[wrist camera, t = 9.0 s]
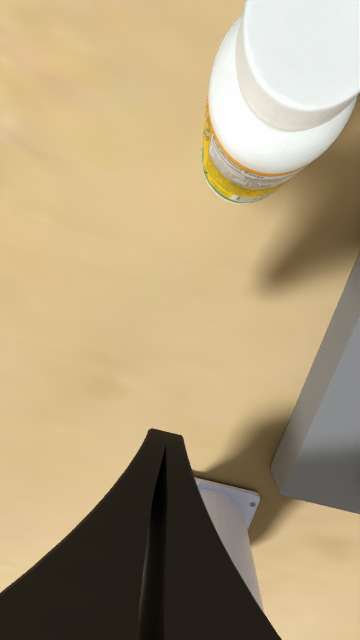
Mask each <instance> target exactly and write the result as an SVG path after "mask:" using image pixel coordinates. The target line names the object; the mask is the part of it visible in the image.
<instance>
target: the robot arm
mask: <svg viewBox="0 0 360 640" xmlns="http://www.w3.org/2000/svg"><path fill="white" fill-rule="evenodd" d="M251 502H252V503H251ZM259 502H260V496H259V494H258V493H257V492H254V491H250V490H245V489H241V488H237V487H233V486H229V485H224V484H220V483H216V482H212V481H208V480H203V479H199V478H195V477H194V475H193V472H192V469H191V466H190V463H189V459H188V456H187V452H186V448H185V444H184V439H183V437H182V435H178V434H173V433H169V432H165V431H161V430H157V429H153V428H151V429H149V430H148V433H147V436H146V438H145V440H144V442H143V444H142V446H141V447H140V449H139V451H138V452H137V454H136V455H135V457H134V458H133V460H132V461H131V463H130V464H129V466H128V467H127V469H126V470H125V471H124V473H123V474H122V475H121V477H120V478H119V479H118V480H117V482H116V483H115V484H114V486H113V487H112V488H111V489H110V491H109V492H108V493H107V494H106V495H105V496H104V498H103V499H102V500H101V501H100V502H99V503H98V504H97V505H96V507H95V508H94V509H93V510H92V511H91V512H90V513H89V514H88V515H87V516H86V517H85V518H84V519H83V520H82V521H81V522H80V523H79V524H78V525H77V526H76V527H75V528H74V529H73V530H72V531H71V532H70V533H69V534H68V535H67V536H66V537H65V538H64V539H63V540H62V541H61V542H60V543H58V544H57V545H56V546H55V547H54V548H53V549H52V550H51V551H50V552H48V553H47V554H46V555H45V556H44V557H43V558H42V559H41V560H39V561H38V562H37V563H36V564H35V565H34V566H33V567H32V568H30V569H29V570H28V571H27V572H26V573H24V574H23V575H22V576H21V577H20V578H18V579H17V580H16V581H15V582H13V583H12V584H11V585H10V586H8V587H7V588H6V589H5V590H3V591H2V592H1V593H0V640H282V639H281V638H280V637H279V635H278V634H277V632H276V631H275V629H274V628H273V626H272V625H271V623H270V622H269V620H268V619H267V617H266V616H265V614H264V610H263V605H262V600H261V595H260V590H259V585H258V580H257V575H256V570H255V566H254V561H253V556H252V551H251V546H250V541H249V536H248V531H247V530H248V528H249V526H250V523H251V521H252V519H253V516H254V514H255V512H256V509H257V507H258V504H259ZM143 570H144V572H143ZM142 579H143V581H142ZM141 588H142V589H141Z"/></svg>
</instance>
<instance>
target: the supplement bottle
mask: <svg viewBox="0 0 360 640" xmlns="http://www.w3.org/2000/svg"><path fill="white" fill-rule="evenodd" d="M359 93H360V0H246V3H245V7H244V10H243V14H242V15H241V16H240V17H239V18H238V19H237V20H236V22H235V23H234V24H233V25H232V27H231V28H230V30H229V31H228V33H227V34H226V36H225V38H224V40H223V41H222V43H221V45H220V48H219V50H218V52H217V55H216V58H215V61H214V64H213V68H212V72H211V77H210V83H209V90H208V99H207V106H206V115H205V125H204V136H203V145H202V169H203V173H204V176H205V179H206V181H207V183H208V185H209V186H210V188H211V189H212V190H213V191H214V192H215V193H216V194H217V195H218V196H219V197H220V198H222V199H224V200H226V201H228V202H231V203H234V204H251V203H255V202H257V201H260V200H262V199H264V198H266V197H267V196H269V195H270V194H272V193H273V192H274V191H276V190H277V189H278V188H279V187H280V186H282V185H283V184H284V183H285V182H287V181H288V180H289V179H290V178H292V177H293V176H294V175H296V174H297V173H298V172H300V171H301V170H302V169H304V168H305V167H306V166H307V165H309V164H310V163H311V162H313V161H314V160H315V159H316V158H318V157H319V156H320V155H321V154H322V153H323V152H325V151H326V150H327V149H328V148H329V147H330V146H331V144H332V143H333V142H334V141H335V140H336V139H337V137H338V136H339V134H340V133H341V131H342V130H343V128H344V127H345V125H346V123H347V122H348V120H349V118H350V116H351V114H352V111H353V109H354V106H355V103H356V100H357V97H358V94H359Z"/></svg>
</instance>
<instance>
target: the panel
mask: <svg viewBox="0 0 360 640" xmlns="http://www.w3.org/2000/svg"><path fill="white" fill-rule="evenodd" d="M270 470H271V472H272V475H273V478H274V481H275V483H276V486H277V489H278V491H279V494H280V495H282V496H286V497H290V498H295V499H299V500H303V501H307V502H311V503H315V504H320V505H324V506H328V507H332V508H336V509H341V510H345V511H349V512H353V513H357V514H360V253H359V255H358V257H357V260H356V262H355V265H354V267H353V269H352V272H351V274H350V277H349V279H348V281H347V284H346V286H345V289H344V291H343V293H342V296H341V298H340V301H339V303H338V305H337V308H336V310H335V312H334V315H333V317H332V320H331V322H330V324H329V327H328V329H327V332H326V334H325V336H324V339H323V341H322V344H321V346H320V348H319V351H318V353H317V356H316V358H315V360H314V363H313V365H312V368H311V370H310V372H309V375H308V377H307V380H306V382H305V384H304V387H303V389H302V392H301V394H300V396H299V399H298V401H297V404H296V406H295V408H294V411H293V413H292V415H291V418H290V420H289V423H288V425H287V427H286V430H285V432H284V435H283V437H282V439H281V442H280V444H279V447H278V449H277V451H276V454H275V456H274V459H273V461H272V463H271V466H270Z"/></svg>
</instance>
